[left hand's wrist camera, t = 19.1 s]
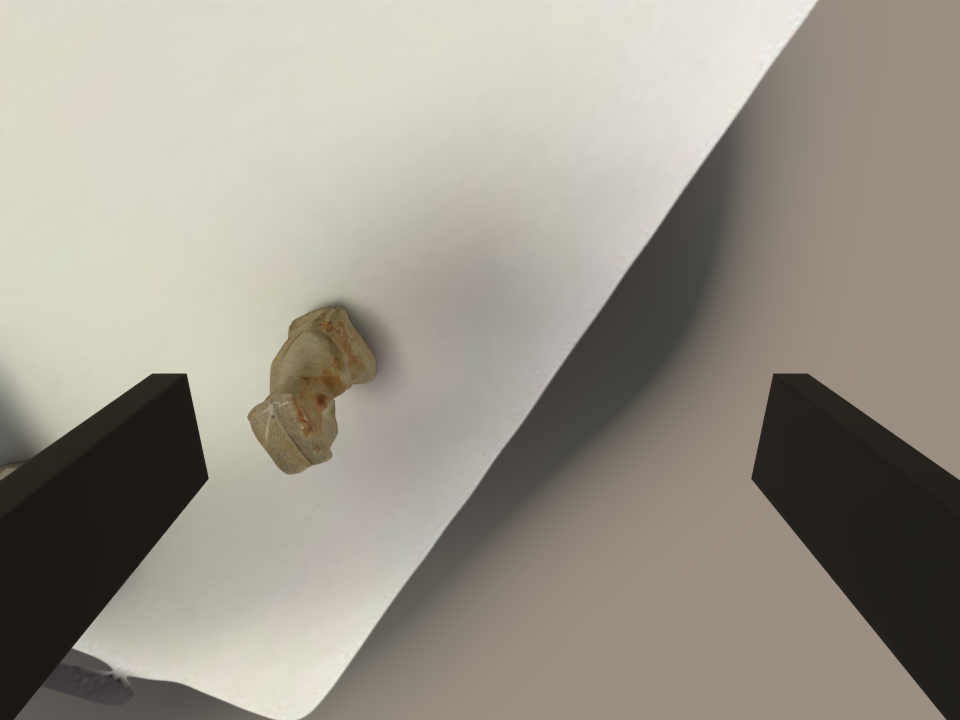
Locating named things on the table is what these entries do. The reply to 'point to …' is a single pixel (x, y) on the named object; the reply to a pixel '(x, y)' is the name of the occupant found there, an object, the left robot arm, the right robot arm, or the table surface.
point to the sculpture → (310, 388)
